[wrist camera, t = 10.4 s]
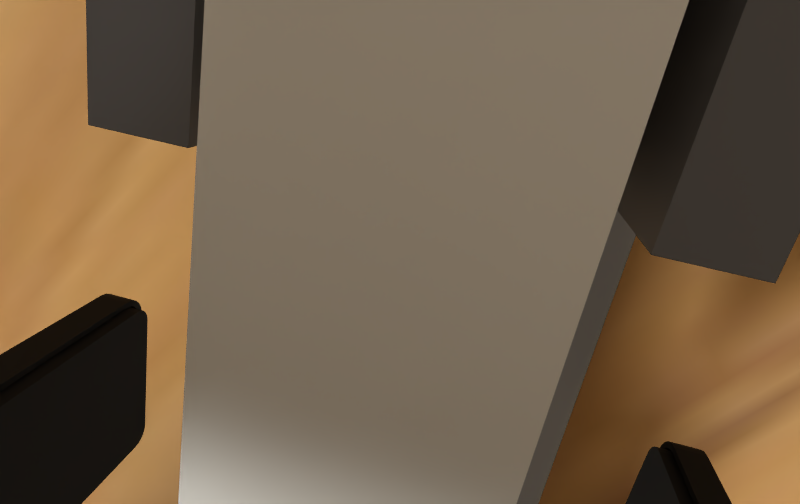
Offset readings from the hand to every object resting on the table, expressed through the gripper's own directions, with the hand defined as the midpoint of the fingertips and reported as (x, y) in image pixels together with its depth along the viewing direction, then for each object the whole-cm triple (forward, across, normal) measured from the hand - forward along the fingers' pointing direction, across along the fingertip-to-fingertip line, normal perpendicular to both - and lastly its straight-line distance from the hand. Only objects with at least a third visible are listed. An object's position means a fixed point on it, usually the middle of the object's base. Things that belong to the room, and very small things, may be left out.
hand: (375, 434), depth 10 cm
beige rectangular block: (+3, 0, 0) cm, 3 cm away
